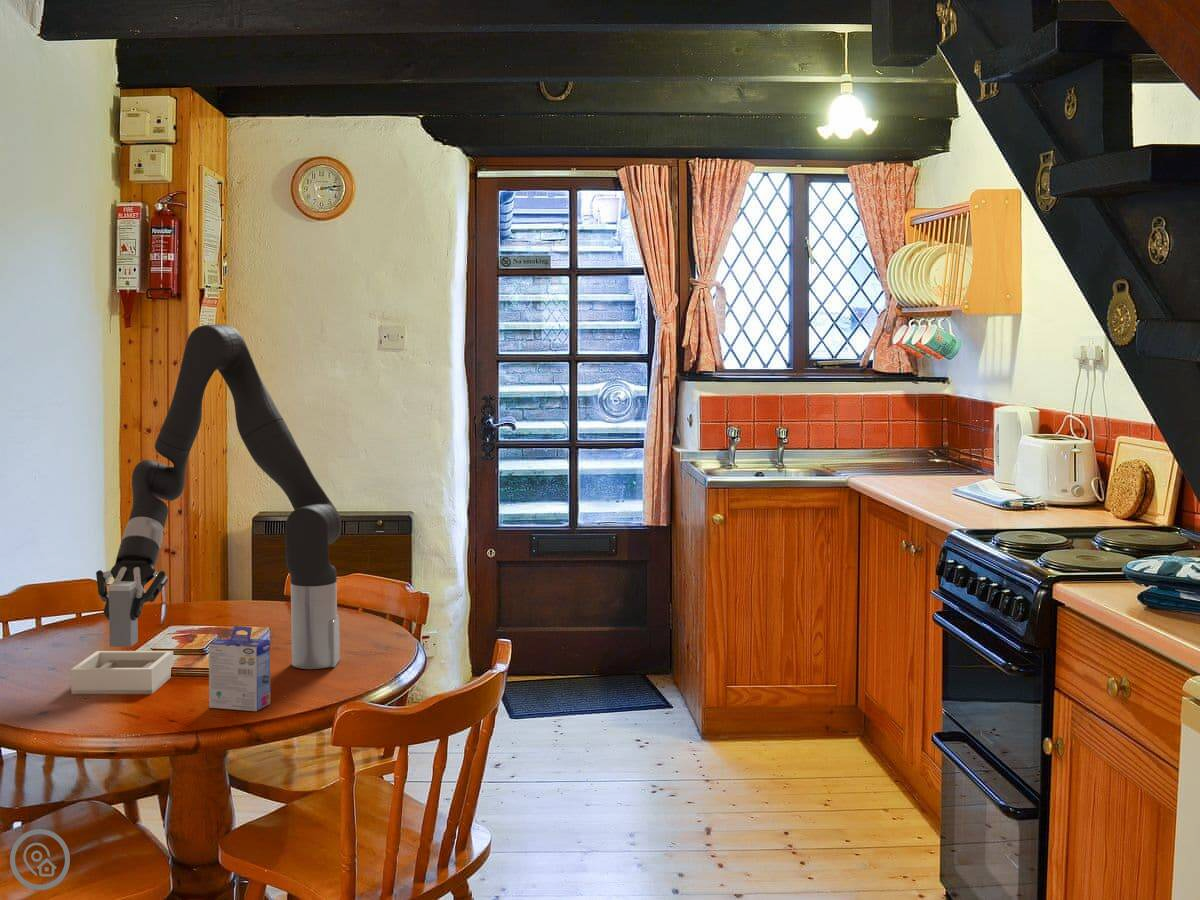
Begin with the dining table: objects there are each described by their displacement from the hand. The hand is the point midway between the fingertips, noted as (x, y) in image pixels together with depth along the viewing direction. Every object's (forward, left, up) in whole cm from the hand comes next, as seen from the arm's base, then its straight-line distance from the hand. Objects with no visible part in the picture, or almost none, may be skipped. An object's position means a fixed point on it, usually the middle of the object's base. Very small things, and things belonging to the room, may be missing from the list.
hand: (120, 617), depth 231 cm
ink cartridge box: (-26, +14, -13) cm, 32 cm away
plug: (0, -2, -6) cm, 6 cm away
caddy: (0, 0, -13) cm, 13 cm away
